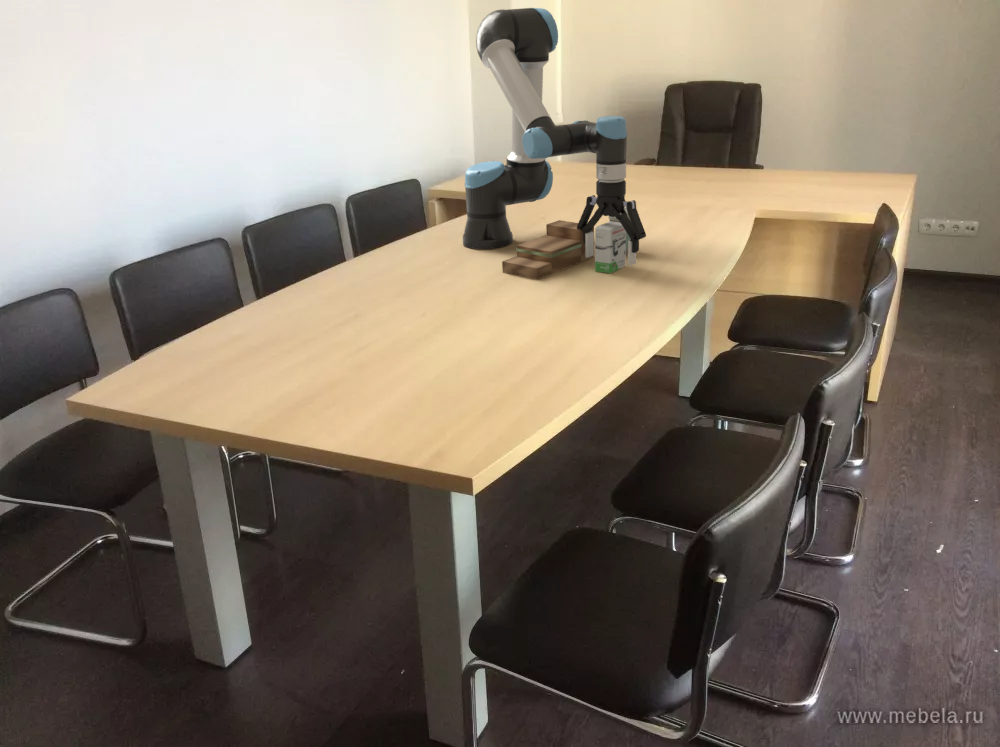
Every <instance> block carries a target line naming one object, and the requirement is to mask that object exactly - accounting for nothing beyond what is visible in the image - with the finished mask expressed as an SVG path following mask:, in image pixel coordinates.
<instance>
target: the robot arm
mask: <svg viewBox="0 0 1000 747" xmlns="http://www.w3.org/2000/svg"><path fill="white" fill-rule="evenodd" d="M475 36H476V37H475V47H476V51H477V54H478V57H479V59H480V60H481V63H482V64H483V66H484V67H485V68H488V69H490V71H491V73H492V74H493V76H494V78H495V80H496V83H497V84H498V85H499V87H500V89H501V91H502V93H503V94H504V96H505V98H506V100H507V103H508V104H509V106H510V107H511V109H512V110H511V151H510V153H508V154H507V155H506V164H504V162H503V161H499V160H491V161H483V162H479V163H475V164H474V165H471V166H470V167H468V168H467V169H466V171H465V173H464V187H465V202H466V203H465V204H466V216H467V217H466V223H465V226H464V233H463V234H462V245H463V246H464V247H466V248H469V249H476V250H493V249H500V248H504V247H507V246H510V245H511V244H513V243H514V235H513V232H512V231H511V227H510V224H509V221H508V218H507V206H510V205H517V204H522V203H533V202H536V201H540V200H543V199H544V198H546V197H547V196H548V195H549V194H550V192H551V190H552V187H553V180H554V176H553V175H554V173H553V171H552V166H551V165H550V163H549V161H547V160H546V159H548V158H552V157H554V158H555V157H559V156H569V155H576V154H582V153H583V154H584V153H592V154H596V156H595V157H596V162H595V163H596V170H595V172H596V176H595V177H596V179H597V180H596V182H595V183H596V185H595V186H596V187H595V188H596V191H595V193H596V195H597V196H596V195H594V194H593V195H589V196H587V197H586V201H585V202H586V203H585V206H584V209H583V212H582V214H581V215H580V218H579V221H578V222H577V223H578V225H577V229H578V230H581V231H582V232H583V243H584V244H585V257H586V258H589V257H591V256H594V257H595V231H594V232H590V231H592V228H593V227H594V228H595V226H596V225H597V224H598V222H599V220H600V219H601V218H602V217H604V216H605V217H609V216H610V217H616V219H618V220H619V221H620V223H621V224H622V226H623V227H624V229H625V231H626V232H627V234H628V235H629V237H630V238H631V240H629V241H628V255H627V266H633V265H635V264H637V253H638V252H639V251H640V240H641V239H645V238H646V237H647V234H646V231H645V228H644V225H643V222H642V220H641V218H640V214H639V211H638V209H637V202H636V200H627V201H626V198H625V197H626V190H627V188H626V187H627V181H626V180H625V179H626V178H627V144H628V143H627V141H628V140H627V139H628V131H627V119H626V118H625V117H624V116H620V115H617V116H616V115H605V116H604V115H603V116H600V117H598V118H597V119H596V122H593V121H589V120H576V121H573V122H572V123H567V124H559V125H556V124H555V123H554V121H553V119H552V117H551V116H550V113H548V110H547V109H546V108H547V107H545V105H544V104H543V83H544V81H543V80H544V67H545V66H546V65H547V63H548V62H549V61H550V59H549V56H550V53H552V52H554V51H555V50H556V48H557V45H558V43H559V30H558V24H557V22H556V19H554V16H553V15H552V13H551V12H550V11H549V10H548V9H545V8H541V7H537V8H536V7H525V8H511V9H504V8H503V9H497V10H496V9H495V10H494V11H492V12H490V13H488V14H487V15H486V16H485V17H484V18H483V19H482V20H481V22H480V23H479V25H478V28H477V31H476V34H475ZM596 205H597V209H596V210H595V212H594V214H593V215H592V213H593V211H594V209H595V206H596ZM624 208H625V209H627V212H628V215H629V218H630V219H629V218H628V216H627V213H626V211H625V209H624ZM637 211H638V212H637ZM620 213H621V214H620ZM638 214H639V215H638ZM591 215H592V216H591ZM590 217H591V218H590ZM630 220H631V221H630Z"/></svg>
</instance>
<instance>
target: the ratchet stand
mask: <svg viewBox="0 0 1000 747" xmlns="http://www.w3.org/2000/svg"><path fill="white" fill-rule="evenodd" d="M578 223H579V222H574V221H566V220H556V221H553V222H550V223H547V224H546V225H545V226H546V228H545V230H546V234H545V235H543V236H540V237H537V238H534V239H532V240H531V239H530V240H528V241H525V242H523V243H519V244H517V245H516V246H515V247H516V248H515V251H516V256H513V257H511V258H507V259H505V260H502V262H501V264H502V266H501V268H502V269H501V270H502V273H504V274H510V275H514V276H519V277H523V278H529V279H532V280H539V279H540V280H541V279H543V278H544V277H547V276H550V275H553V274H555V273H558V272H560V271H563V270H566V269H569V268H570V267H573V266H575V265H577V264H581V263H583V262H586V261H588V260H591V259H594V258H595V255H594V256H591V257H589V258H586V257H585V244H584V243H583V232H582V231H581V230H578V229H577V225H578ZM590 232H594V233H595V226H594V227H593V228H592V231H590Z"/></svg>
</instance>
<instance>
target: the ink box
mask: <svg viewBox="0 0 1000 747" xmlns="http://www.w3.org/2000/svg"><path fill="white" fill-rule="evenodd" d="M626 257H627V255H626V231H625V229H624V227H623V226H622V224H621V223H619V222H612V221H610V220H609V221H607V222H605V223H602V224H600V225H598V226H596V227H594V271H595V272H600V273H605V274H612V273H614V272H616V271H618V270H620V269H622V268H624V267H626Z"/></svg>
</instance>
